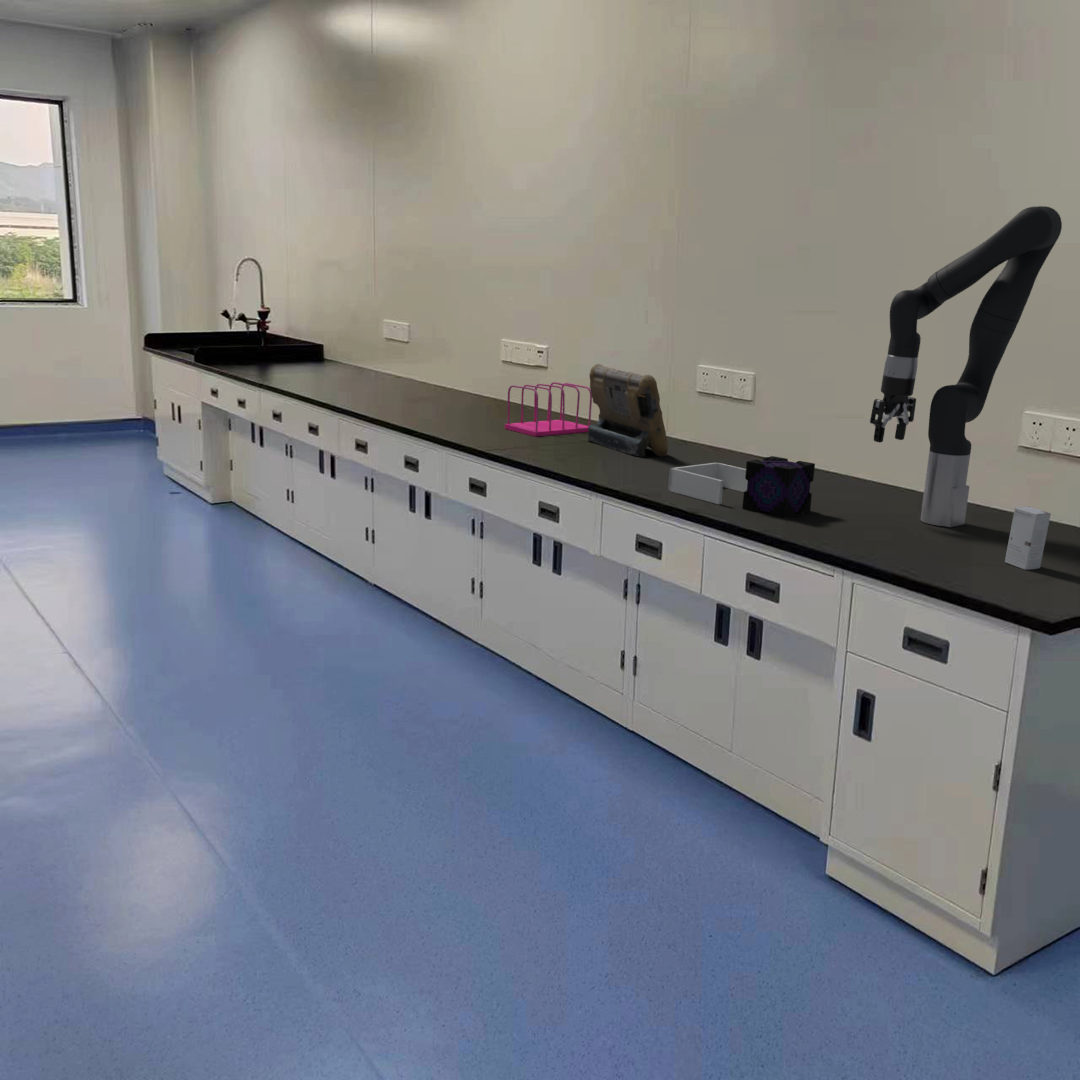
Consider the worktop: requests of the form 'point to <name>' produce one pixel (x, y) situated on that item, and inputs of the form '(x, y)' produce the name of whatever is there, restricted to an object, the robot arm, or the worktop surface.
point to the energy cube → (778, 486)
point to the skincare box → (1027, 537)
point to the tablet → (627, 412)
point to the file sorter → (550, 425)
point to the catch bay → (707, 480)
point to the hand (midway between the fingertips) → (888, 440)
